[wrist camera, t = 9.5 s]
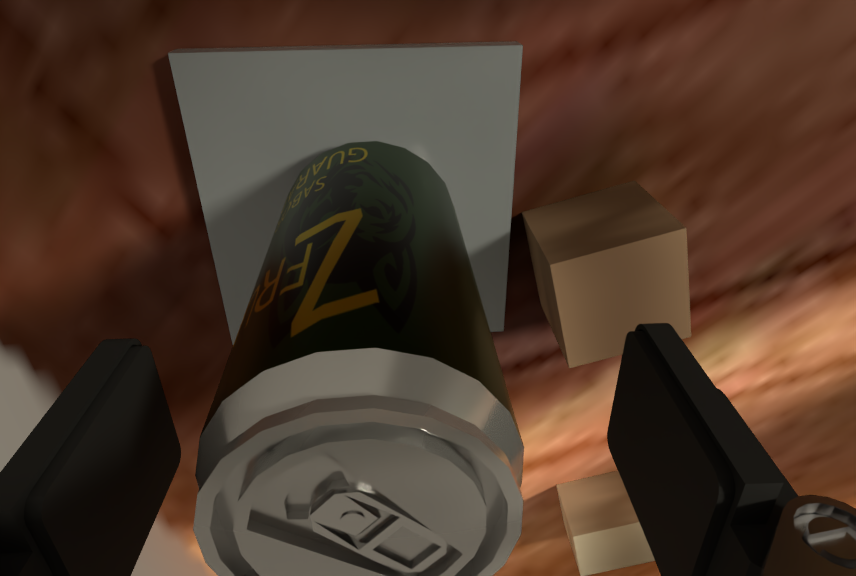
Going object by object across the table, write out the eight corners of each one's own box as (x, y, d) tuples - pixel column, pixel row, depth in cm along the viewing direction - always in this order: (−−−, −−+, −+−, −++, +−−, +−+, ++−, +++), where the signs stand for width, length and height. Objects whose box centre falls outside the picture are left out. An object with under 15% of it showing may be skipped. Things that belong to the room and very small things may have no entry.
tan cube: (633, 179, 20) (686, 227, 17) (642, 275, 22) (691, 336, 19) (521, 211, 20) (550, 265, 17) (540, 303, 22) (569, 368, 19)
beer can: (486, 207, 19) (610, 510, 9) (380, 312, 21) (382, 665, 11) (359, 95, 17) (331, 322, 7) (254, 223, 19) (105, 554, 9)
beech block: (659, 458, 27) (688, 511, 25) (661, 499, 29) (689, 553, 26) (555, 482, 28) (573, 536, 25) (563, 521, 29) (580, 576, 27)
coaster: (517, 41, 17) (522, 45, 17) (499, 319, 23) (503, 331, 22) (176, 48, 17) (168, 53, 16) (237, 332, 22) (232, 345, 21)
